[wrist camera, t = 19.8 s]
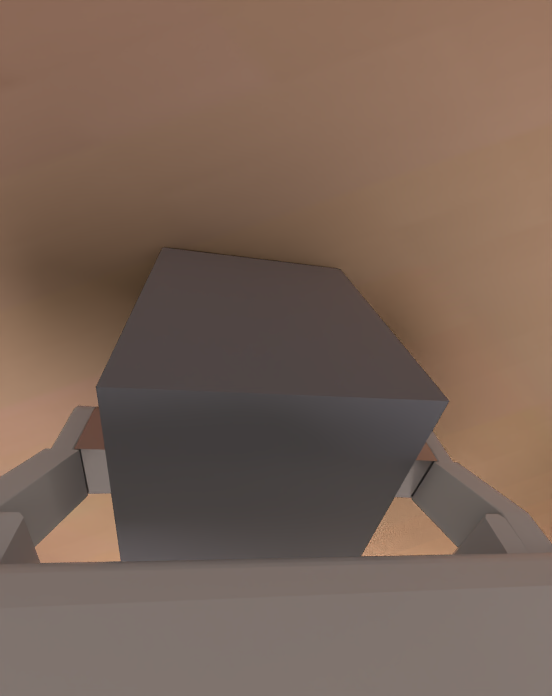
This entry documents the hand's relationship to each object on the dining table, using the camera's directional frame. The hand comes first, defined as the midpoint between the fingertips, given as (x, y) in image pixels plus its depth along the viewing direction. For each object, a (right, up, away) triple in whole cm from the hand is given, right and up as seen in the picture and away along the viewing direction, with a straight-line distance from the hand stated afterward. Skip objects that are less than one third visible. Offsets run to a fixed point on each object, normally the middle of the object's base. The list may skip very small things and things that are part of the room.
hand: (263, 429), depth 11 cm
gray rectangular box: (-1, +3, +5) cm, 6 cm away
